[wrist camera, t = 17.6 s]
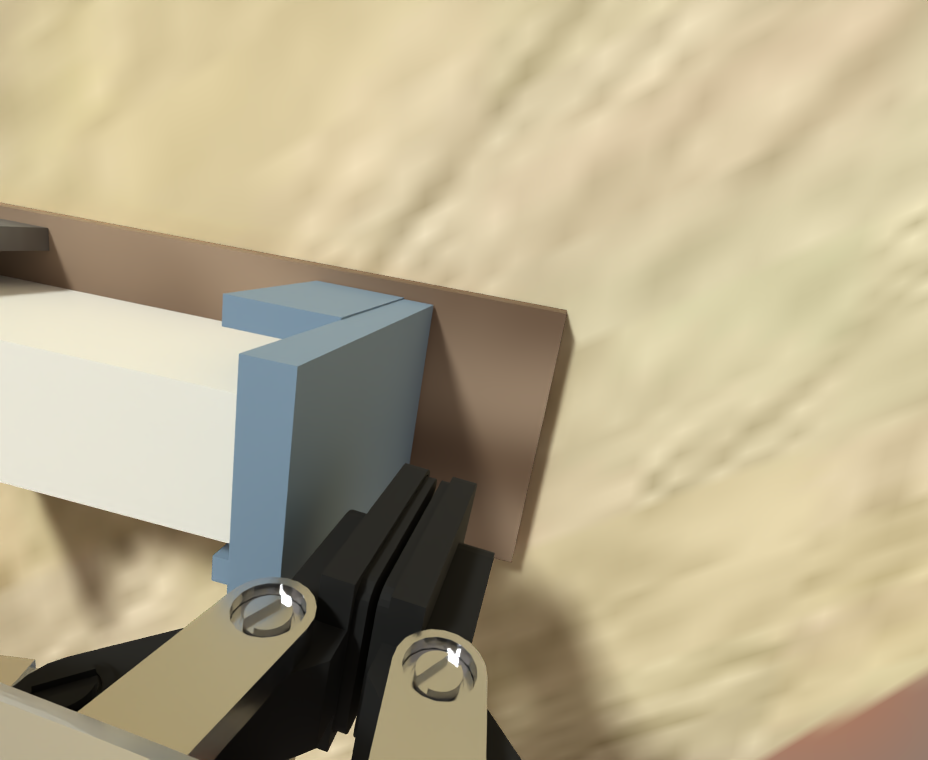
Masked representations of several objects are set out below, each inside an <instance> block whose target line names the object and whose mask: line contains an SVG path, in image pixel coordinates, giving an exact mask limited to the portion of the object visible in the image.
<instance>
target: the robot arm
mask: <svg viewBox="0 0 928 760" xmlns="http://www.w3.org/2000/svg"><path fill="white" fill-rule="evenodd" d="M429 476H430V470H428V469H425V468H421V467H418V466H414V465H411V464H407V463H405V464H404V465H403V466H402V468H401V469H400V470H399V472H398V473H397V474H396V476H395V477H394V478H393V480H392V481H391V482H390V484H389V485H388V486H387V488H386V489H385V490H384V492H383V493H382V494H381V496H380V497H379V498H378V499H377V501H376V502H375V503H374V505H373V506H372V507H371V509H370V510H369V511H368V513H367V514H366V513H363V512H359V511H356V510H353V509H352V510H349V511H348V512H347V513H346V514H345V515H344V516H343V518H342V519H341V520H340V521H339V523H338V524H337V525H336V526H335V527H334V529H333V530H332V531H331V532H330V533H329V535H328V536H327V537H326V538H325V539H324V541H323V542H322V543H321V544H320V545H319V547H318V548H317V549H316V550H315V551H314V553H313V554H312V555H311V556H310V557H309V559H308V560H307V561H306V562H305V563H304V565H303V566H302V567H301V568H300V570H299V571H298V572H297V573H296V574H295V576H294V577H293V578H292V579H288V578H281V577H266V578H258V579H255V580H252V581H249V582H246V583H243V584H242V585H240V586H238V587H237V588H235V589H233V590H232V591H231V592H229V593H228V594H227V595H226V596H224V597H223V598H222V599H220V600H219V601H218V602H217V603H215V604H214V605H213V606H212V607H210V608H209V609H208V610H206V611H205V612H204V613H203V614H201V615H200V616H199V617H198V618H196V619H195V620H194V621H192V622H191V623H190V624H189V625H187V626H186V627H185V628H182V629H178V630H174V631H170V632H166V633H162V634H158V635H154V636H150V637H146V638H142V639H138V640H134V641H129V642H125V643H121V644H117V645H113V646H109V647H105V648H101V649H97V650H93V651H89V652H85V653H81V654H77V655H73V656H69V657H66V658H63V659H60V660H57V661H54V662H51V663H48V664H46V665H44V666H43V667H41V668H39V669H37V668H36V664H35V659H27V658H19V657H11V656H3V655H0V760H295V757H296V756H299V755H301V754H303V753H306V752H308V751H310V750H313V749H315V748H318V749H321V750H323V751H326V752H328V750H329V748H330V746H331V744H332V741H333V739H334V737H335V735H336V733H337V731H339V732H341V733H344V734H348V732H349V730H350V728H351V726H352V724H353V722H354V720H355V718H356V723H355V728H354V734H353V736H354V737H355V743H354V748H353V754H352V759H351V760H521V758H520V757H519V755H518V754H517V752H516V751H515V750H514V748H513V747H512V745H511V744H510V742H509V741H508V739H507V738H506V736H505V735H504V733H503V732H502V730H501V729H500V727H499V726H498V724H497V723H496V721H495V720H494V718H493V717H492V715H491V714H490V712H489V711H488V709H487V683H488V676H487V670H486V664H485V662H484V660H483V658H482V656H481V655H480V653H479V651H478V650H477V649H476V648H475V647H474V646H473V645H472V640H473V636H474V632H475V628H476V624H477V620H478V617H479V613H480V609H481V605H482V601H483V597H484V593H485V590H486V586H487V582H488V578H489V574H490V570H491V566H492V563H493V559H494V555H495V553H494V552H490V551H487V550H484V549H481V548H477V547H474V546H471V545H468V544H464V540H465V535H466V531H467V527H468V523H469V518H470V514H471V510H472V506H473V501H474V497H475V493H476V488H477V483H474V482H470V481H467V480H463V479H460V478H456V477H452V479H451V481H450V482H446V481H443V480H442V481H441V482H440V484H439V486H438V488H437V490H436V485H437V479H436V478H432V477H429ZM435 490H436V491H435ZM356 716H357V717H356Z"/></svg>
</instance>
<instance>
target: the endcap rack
mask: <svg viewBox="0 0 928 760" xmlns="http://www.w3.org/2000/svg"><path fill="white" fill-rule="evenodd" d="M0 275H2V276H6V277H11V278H16V279H21V280H26V281H31V282H35V283H40V284H45V285H50V286H55V287H59V288H64V289H69V290H74V291H79V292H83V293H88V294H93V295H98V296H103V297H108V298H112V299H117V300H122V301H127V302H132V303H136V304H141V305H146V306H151V307H156V308H160V309H165V310H170V311H175V312H180V313H185V314H189V315H194V316H199V317H204V318H209V319H213V320H218V321H222V306H223V294H224V293H231V292H238V291H246V290H253V289H260V288H267V287H275V286H282V285H289V284H296V283H303V282H311V281H321V282H327V283H332V284H337V285H342V286H347V287H352V288H357V289H363V290H368V291H373V292H378V293H383V294H388V295H393V296H398V297H404V299H406V300H411V301H416V302H421V303H426V304H431V305H433V312H432V319H431V325H430V332H429V338H428V345H427V352H426V358H425V365H424V371H423V378H422V385H421V391H420V398H419V405H418V411H417V418H416V424H415V431H414V438H413V444H412V451H411V457H410V464H411V465H414V466H418V467H421V468H425V469H428V470H430V476H429V477H432V478H436V479H437V485H436V490H437V488H438V486H439V484H440V482H441V481H442V480H443V481H446V482H450V481H451V479H452V477H456V478H460V479H463V480H467V481H470V482H474V483H477V488H476V493H475V497H474V501H473V506H472V510H471V514H470V518H469V523H468V527H467V531H466V535H465V540H464V544H468V545H471V546H474V547H477V548H481V549H484V550H487V551H490V552H494V553H495V555H494V558H496V559H500V560H504V561H508V562H512V558H513V553H514V549H515V544H516V540H517V535H518V531H519V526H520V522H521V517H522V513H523V509H524V504H525V500H526V495H527V491H528V486H529V482H530V477H531V473H532V468H533V464H534V459H535V455H536V450H537V446H538V441H539V437H540V432H541V428H542V423H543V419H544V414H545V410H546V405H547V401H548V396H549V392H550V387H551V383H552V378H553V374H554V369H555V365H556V360H557V356H558V351H559V347H560V343H561V338H562V334H563V329H564V325H565V320H566V316H567V310H563V309H558V308H552V307H547V306H542V305H537V304H531V303H526V302H521V301H515V300H510V299H505V298H500V297H494V296H489V295H484V294H479V293H473V292H468V291H463V290H458V289H452V288H447V287H442V286H436V285H431V284H426V283H421V282H415V281H410V280H405V279H400V278H394V277H389V276H384V275H379V274H373V273H368V272H363V271H357V270H352V269H347V268H342V267H336V266H331V265H326V264H321V263H315V262H310V261H305V260H300V259H294V258H289V257H284V256H278V255H273V254H268V253H263V252H257V251H252V250H247V249H242V248H236V247H231V246H226V245H221V244H215V243H210V242H205V241H199V240H194V239H189V238H184V237H178V236H173V235H168V234H163V233H157V232H152V231H147V230H141V229H136V228H131V227H126V226H120V225H115V224H110V223H105V222H99V221H94V220H89V219H84V218H78V217H73V216H68V215H62V214H57V213H52V212H47V211H41V210H36V209H31V208H26V207H20V206H15V205H10V204H5V203H0ZM436 490H435V491H436Z"/></svg>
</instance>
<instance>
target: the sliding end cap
mask: <svg viewBox="0 0 928 760" xmlns="http://www.w3.org/2000/svg"><path fill="white" fill-rule="evenodd" d="M432 312H433V305H431V304H426V303H421V302H416V301H411V300H406V299H404V297H398V296H393V295H388V294H383V293H378V292H373V291H368V290H363V289H357V288H352V287H347V286H342V285H337V284H332V283H327V282H321V281H311V282H303V283H296V284H289V285H282V286H275V287H267V288H260V289H253V290H246V291H238V292H231V293H224V294H223V306H222V327H227V328H232V329H236V330H241V331H246V332H250V333H255V334H260V335H265V336H269V337H274V338H279V339H281V340H278V341H275V342H272V343H269V344H266V345H263V346H260V347H257V348H254V349H251V350H248V351H245V352H242V353H239V360H238V381H237V401H236V421H235V442H234V462H233V482H232V503H231V523H230V543H227V544H226V545H224V546H223V547H222V548H221V549H220V550H219V551H218V552H217V553H215V554H214V555H213V560H212V581H216V582H219V583H223V584H227V594H228V593H229V592H231V591H232V590H233V589H235V588H237V587H238V586H240V585H242V584H243V583H246V582H249V581H252V580H255V579H258V578H266V577H281V578H288V579H292V578H293V577H294V576H295V574H296V573H297V572H298V571H299V570H300V568H301V567H302V566H303V565H304V563H305V562H306V561H307V560H308V559H309V557H310V556H311V555H312V554H313V553H314V551H315V550H316V549H317V548H318V547H319V545H320V544H321V543H322V542H323V541H324V539H325V538H326V537H327V536H328V535H329V533H330V532H331V531H332V530H333V529H334V527H335V526H336V525H337V524H338V523H339V521H340V520H341V519H342V518H343V516H344V515H345V514H346V513H347V512H348V511H349V510H352V509H353V510H356V511H359V512H363V513H366V514H367V513H368V511H369V510H370V509H371V507H372V506H373V505H374V503H375V502H376V501H377V499H378V498H379V497H380V496H381V494H382V493H383V492H384V490H385V489H386V488H387V486H388V485H389V484H390V482H391V481H392V480H393V478H394V477H395V476H396V474H397V473H398V472H399V470H400V469H401V468H402V466H403V465H404V464H405V463H407V464H410V457H411V451H412V444H413V438H414V431H415V424H416V418H417V411H418V405H419V398H420V391H421V385H422V378H423V371H424V365H425V358H426V352H427V345H428V338H429V332H430V325H431V319H432Z"/></svg>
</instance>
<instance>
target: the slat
mask: <svg viewBox="0 0 928 760" xmlns="http://www.w3.org/2000/svg"><path fill="white" fill-rule="evenodd" d="M278 340H281V339H279V338H274V337H269V336H265V335H260V334H255V333H250V332H246V331H241V330H236V329H232V328H227V327H222V321H218V320H213V319H209V318H204V317H199V316H194V315H189V314H185V313H180V312H175V311H170V310H165V309H160V308H156V307H151V306H146V305H141V304H136V303H132V302H127V301H122V300H117V299H112V298H108V297H103V296H98V295H93V294H88V293H83V292H79V291H74V290H69V289H64V288H59V287H55V286H50V285H45V284H40V283H35V282H31V281H26V280H21V279H16V278H11V277H6V276H2V275H0V482H1V483H5V484H9V485H13V486H16V487H20V488H24V489H28V490H31V491H35V492H39V493H42V494H46V495H50V496H54V497H57V498H61V499H65V500H69V501H72V502H76V503H80V504H83V505H87V506H91V507H95V508H98V509H102V510H106V511H110V512H113V513H117V514H121V515H124V516H128V517H132V518H136V519H139V520H143V521H147V522H151V523H154V524H158V525H162V526H165V527H169V528H173V529H177V530H180V531H184V532H188V533H192V534H195V535H199V536H203V537H206V538H210V539H214V540H218V541H221V542H225V543H230V523H231V503H232V482H233V462H234V442H235V421H236V401H237V381H238V360H239V353H242V352H245V351H248V350H251V349H254V348H257V347H260V346H263V345H266V344H269V343H272V342H275V341H278Z"/></svg>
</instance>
